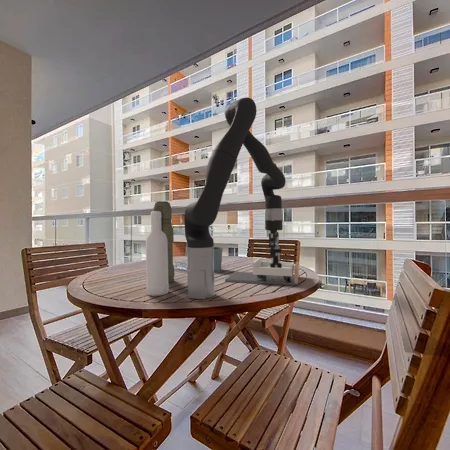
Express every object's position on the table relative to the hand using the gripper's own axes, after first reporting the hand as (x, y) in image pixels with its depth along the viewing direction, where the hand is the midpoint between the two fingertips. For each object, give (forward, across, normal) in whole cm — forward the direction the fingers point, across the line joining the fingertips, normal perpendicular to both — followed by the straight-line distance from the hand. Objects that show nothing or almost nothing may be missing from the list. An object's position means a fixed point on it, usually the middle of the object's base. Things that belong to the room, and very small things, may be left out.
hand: (274, 256), depth 112 cm
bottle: (+10, +31, -39) cm, 51 cm away
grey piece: (+10, 0, -5) cm, 11 cm away
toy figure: (+6, 0, 0) cm, 6 cm away
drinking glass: (+10, -15, -34) cm, 39 cm away
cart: (+9, 0, 0) cm, 9 cm away
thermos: (+10, +15, -46) cm, 50 cm away
